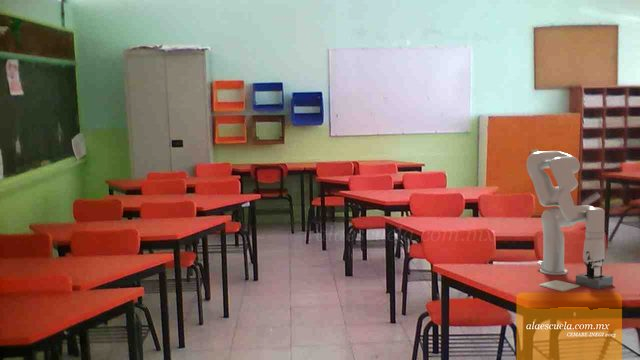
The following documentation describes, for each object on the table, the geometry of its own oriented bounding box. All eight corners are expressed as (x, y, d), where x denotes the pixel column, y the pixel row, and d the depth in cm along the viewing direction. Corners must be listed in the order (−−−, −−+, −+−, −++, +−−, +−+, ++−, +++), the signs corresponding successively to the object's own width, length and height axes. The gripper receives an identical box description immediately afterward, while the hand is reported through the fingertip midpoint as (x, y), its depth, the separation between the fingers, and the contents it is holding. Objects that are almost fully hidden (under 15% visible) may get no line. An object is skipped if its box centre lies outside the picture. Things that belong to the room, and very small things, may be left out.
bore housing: (575, 284, 269) (575, 275, 269) (589, 280, 275) (590, 271, 275) (598, 289, 260) (598, 280, 260) (612, 285, 266) (612, 276, 266)
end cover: (583, 284, 269) (584, 261, 268) (591, 282, 272) (592, 259, 271) (596, 287, 264) (596, 263, 263) (604, 284, 267) (604, 261, 266)
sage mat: (539, 285, 268) (539, 284, 268) (555, 281, 275) (555, 279, 275) (562, 291, 258) (562, 290, 258) (579, 286, 265) (579, 285, 265)
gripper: (598, 231, 273) (597, 270, 275) (575, 236, 264) (575, 276, 266) (613, 234, 267) (613, 273, 269) (591, 239, 258) (590, 280, 260)
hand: (594, 274), depth 267 cm, fingers closed on end cover, 5 cm apart
